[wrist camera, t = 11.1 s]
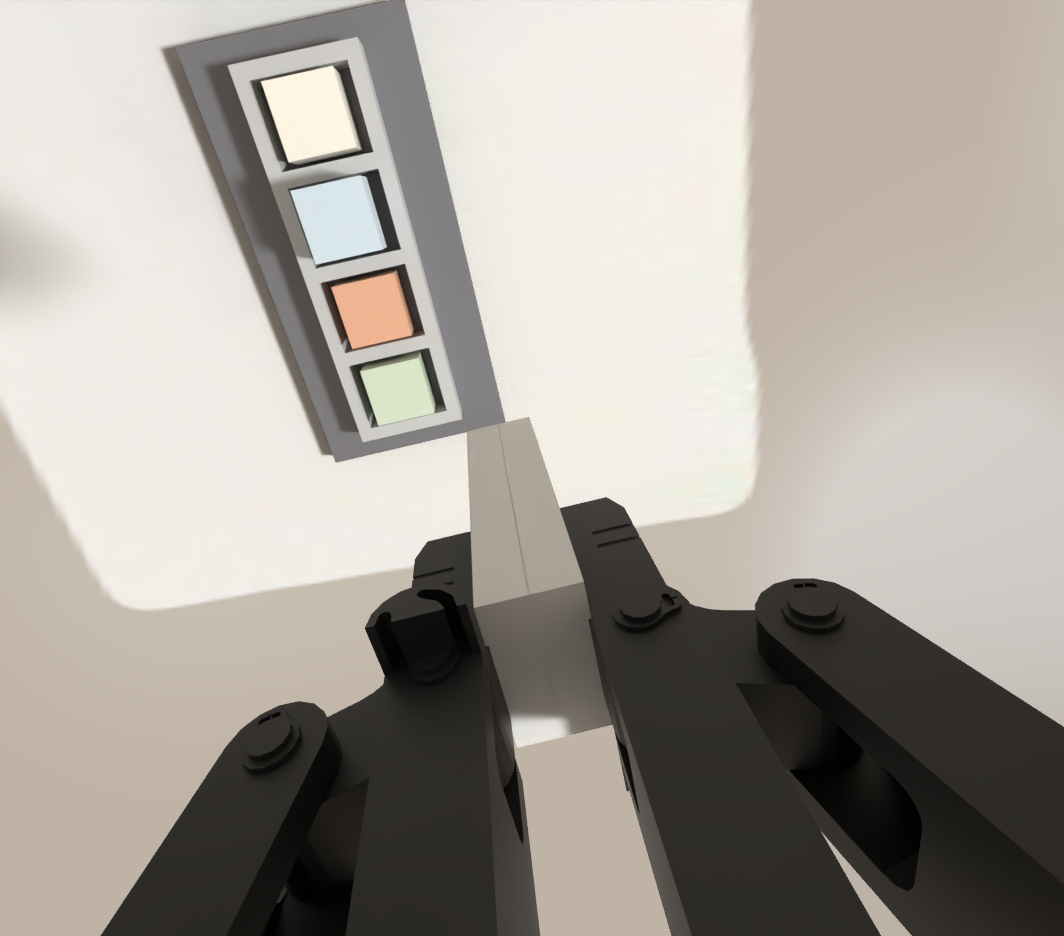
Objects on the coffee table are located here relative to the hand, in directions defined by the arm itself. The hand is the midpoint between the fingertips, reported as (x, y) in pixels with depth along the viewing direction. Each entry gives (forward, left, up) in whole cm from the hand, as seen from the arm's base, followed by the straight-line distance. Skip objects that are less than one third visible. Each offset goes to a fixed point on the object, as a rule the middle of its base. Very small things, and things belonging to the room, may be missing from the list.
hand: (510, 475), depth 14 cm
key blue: (-7, -6, -23) cm, 25 cm away
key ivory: (-12, -6, -25) cm, 28 cm away
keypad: (-4, -6, -26) cm, 27 cm away
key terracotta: (-2, -6, -25) cm, 26 cm away
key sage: (+3, -6, -25) cm, 26 cm away
